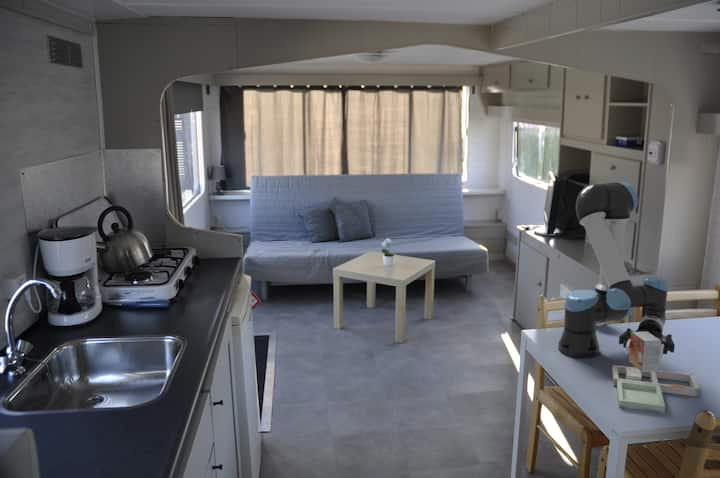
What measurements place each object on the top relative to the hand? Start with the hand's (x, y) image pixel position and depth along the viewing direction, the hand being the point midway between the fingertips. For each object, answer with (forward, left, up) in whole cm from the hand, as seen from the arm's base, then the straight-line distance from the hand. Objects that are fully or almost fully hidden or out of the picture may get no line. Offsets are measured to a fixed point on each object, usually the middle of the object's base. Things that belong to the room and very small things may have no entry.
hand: (643, 352), depth 188 cm
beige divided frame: (+6, +19, -18) cm, 27 cm away
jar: (-13, +74, -19) cm, 77 cm away
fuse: (-1, +19, -18) cm, 26 cm away
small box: (+1, +4, -7) cm, 8 cm away
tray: (0, +5, -18) cm, 19 cm away
